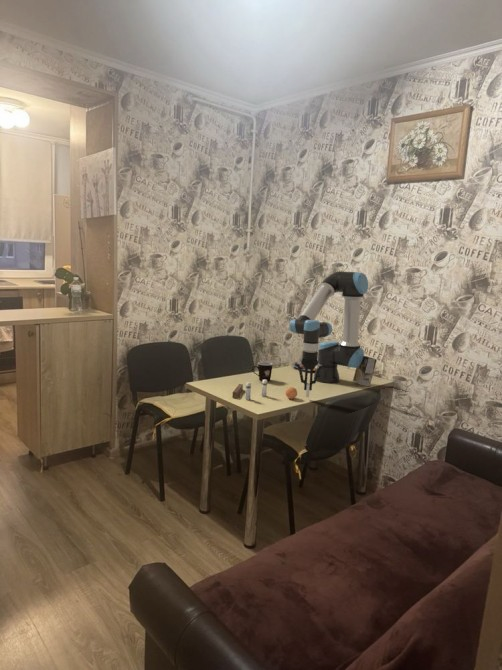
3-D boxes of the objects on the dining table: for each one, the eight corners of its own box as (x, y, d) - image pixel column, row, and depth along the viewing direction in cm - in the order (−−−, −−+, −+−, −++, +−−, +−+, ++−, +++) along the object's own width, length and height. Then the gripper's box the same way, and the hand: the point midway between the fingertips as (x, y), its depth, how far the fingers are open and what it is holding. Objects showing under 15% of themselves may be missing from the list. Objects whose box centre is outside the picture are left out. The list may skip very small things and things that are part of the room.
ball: (297, 397, 241) (298, 386, 240) (296, 400, 235) (297, 389, 234) (285, 396, 242) (286, 385, 241) (284, 399, 236) (285, 388, 235)
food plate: (284, 366, 309) (285, 361, 308) (309, 362, 323) (310, 357, 322) (311, 375, 289) (311, 370, 289) (336, 371, 304) (337, 366, 303)
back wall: (242, 389, 251) (242, 384, 250) (236, 398, 235) (236, 392, 235) (239, 389, 251) (239, 384, 250) (232, 397, 235) (232, 392, 235)
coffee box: (370, 386, 267) (377, 359, 265) (361, 385, 264) (368, 357, 263) (360, 382, 275) (367, 356, 274) (352, 380, 272) (359, 354, 271)
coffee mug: (272, 378, 275) (273, 362, 274) (271, 382, 267) (272, 365, 265) (252, 377, 276) (253, 361, 275) (251, 381, 268) (252, 364, 266)
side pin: (250, 398, 235) (251, 382, 234) (249, 400, 233) (250, 383, 231) (246, 398, 235) (246, 382, 234) (245, 399, 233) (245, 383, 232)
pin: (266, 395, 242) (267, 379, 240) (266, 396, 239) (266, 381, 238) (262, 395, 242) (262, 379, 241) (261, 396, 240) (262, 380, 238)
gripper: (323, 350, 235) (320, 395, 239) (297, 348, 237) (295, 393, 241) (323, 353, 228) (320, 399, 232) (296, 351, 230) (294, 397, 234)
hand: (307, 396), depth 236 cm, fingers closed
